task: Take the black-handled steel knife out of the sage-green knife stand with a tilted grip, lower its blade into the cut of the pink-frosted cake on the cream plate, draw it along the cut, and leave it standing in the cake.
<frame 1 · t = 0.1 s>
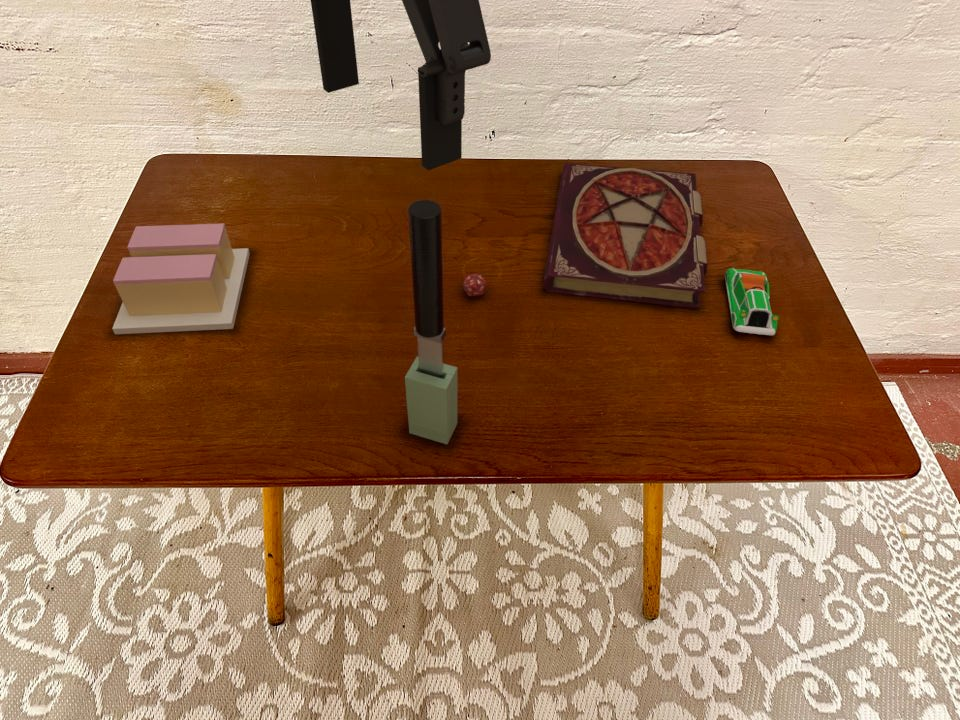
hand: (387, 122, 49), 35 cm above the table, tool pointing down, fingers open, 13 cm apart
knife: (433, 416, 72), point 2 cm above the table, touching knife stand
knife stand: (433, 428, 74), on the table
cake: (186, 291, 88), on the table
book: (625, 238, 99), on the table
toy car: (745, 309, 89), on the table
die: (474, 294, 90), on the table
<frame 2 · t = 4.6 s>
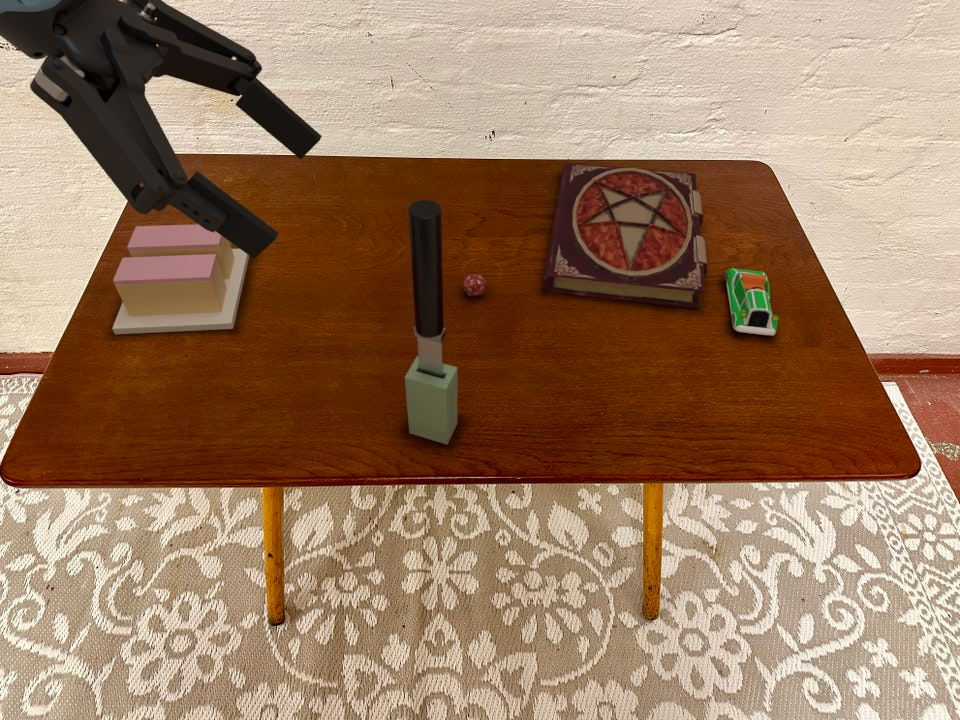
hand: (291, 193, 53), 29 cm above the table, tool tilted 45°, fingers open, 13 cm apart
nothing on the table moved.
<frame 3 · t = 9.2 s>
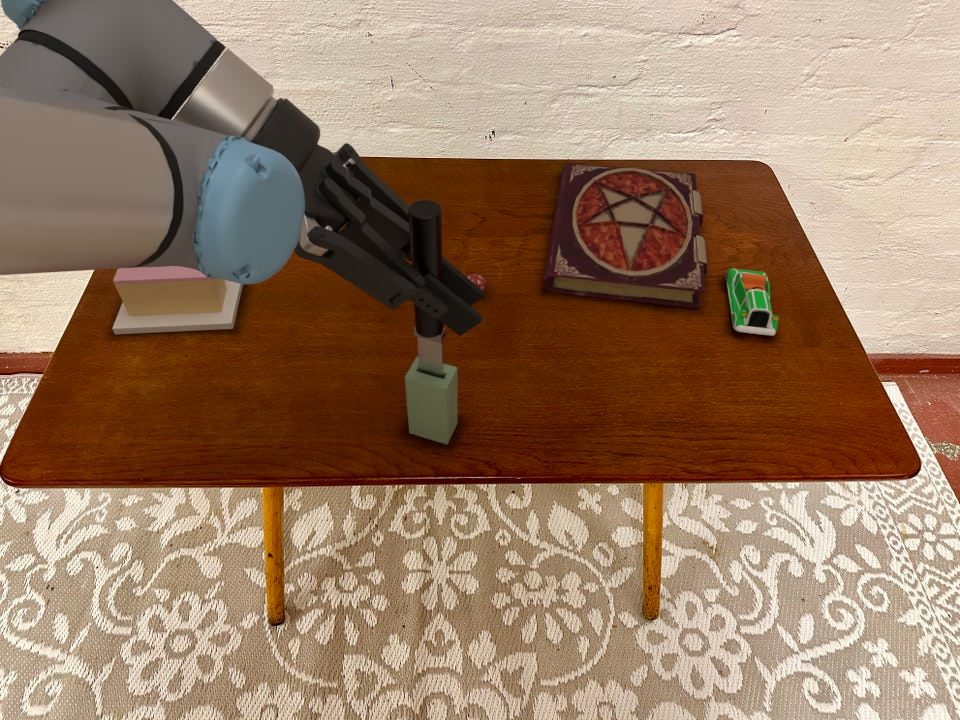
hand: (471, 313, 61), 17 cm above the table, tool tilted 45°, fingers closed on knife, 3 cm apart
knife: (433, 416, 72), point 2 cm above the table, touching gripper, knife stand
everything else where it was.
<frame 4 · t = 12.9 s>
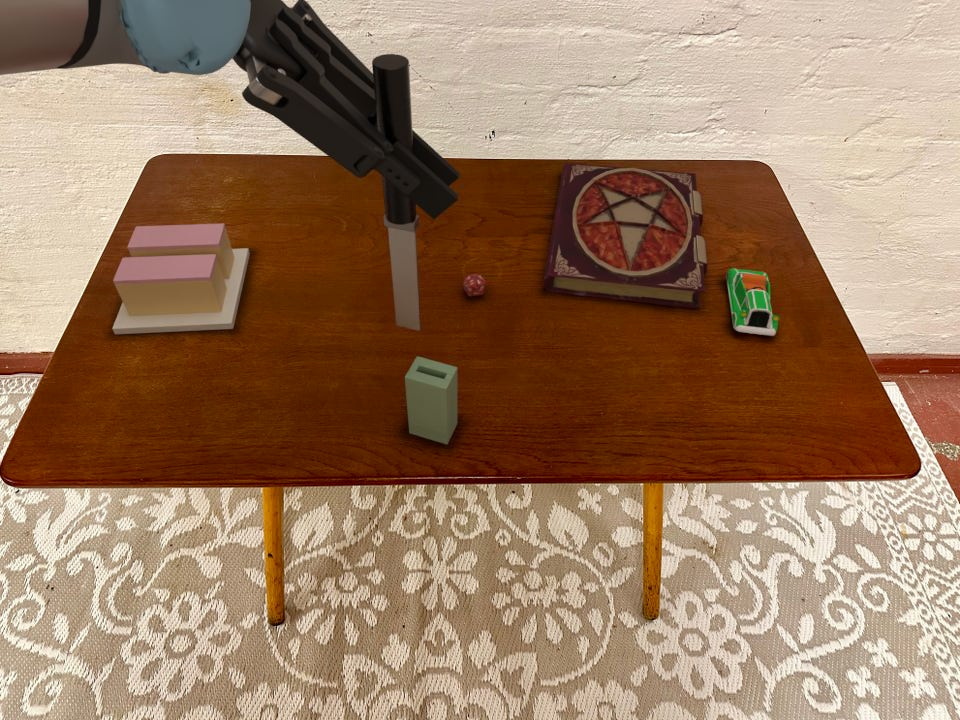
hand: (446, 195, 56), 27 cm above the table, tool tilted 45°, fingers closed on knife, 3 cm apart
knife: (408, 327, 67), point 12 cm above the table, touching gripper
everything else where it was.
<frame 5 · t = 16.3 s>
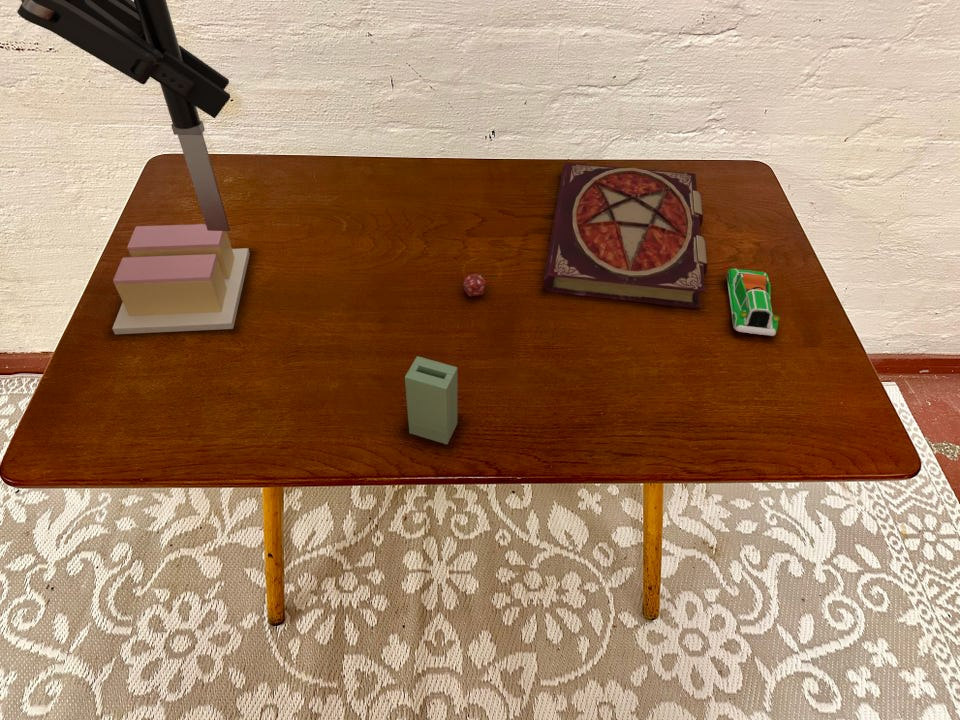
hand: (221, 98, 68), 27 cm above the table, tool tilted 45°, fingers closed on knife, 3 cm apart
knife: (218, 230, 78), point 12 cm above the table, touching gripper
everything else where it was.
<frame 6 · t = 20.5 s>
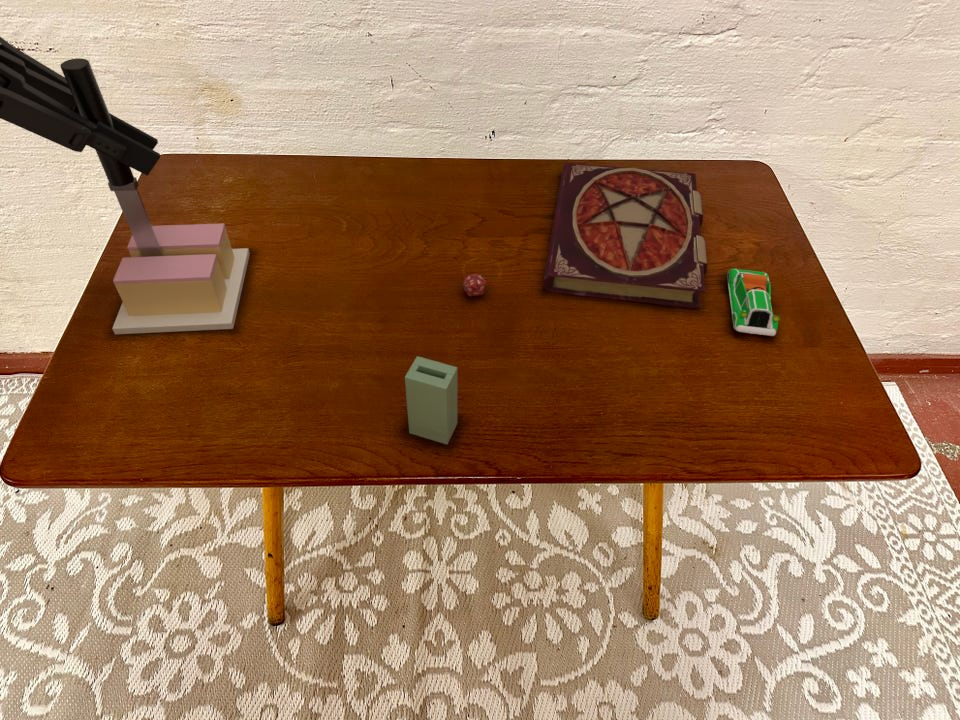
hand: (152, 157, 76), 19 cm above the table, tool tilted 45°, fingers closed on knife, 3 cm apart
knife: (158, 271, 86), point 3 cm above the table, touching gripper
everything else where it was.
when the fingers open (16 cm above the table, at t = 23.6 s): knife stays where it is, resting on cake.
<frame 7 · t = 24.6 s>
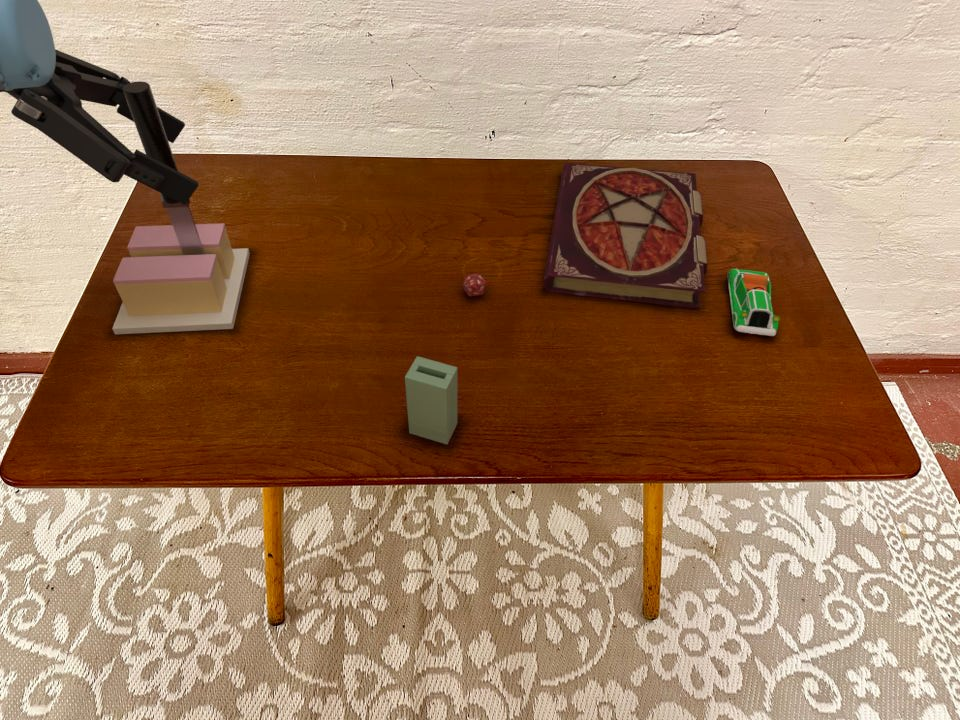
hand: (185, 161, 76), 18 cm above the table, tool tilted 45°, fingers open, 13 cm apart
knife: (204, 284, 88), point 1 cm above the table, touching cake
everything else where it was.
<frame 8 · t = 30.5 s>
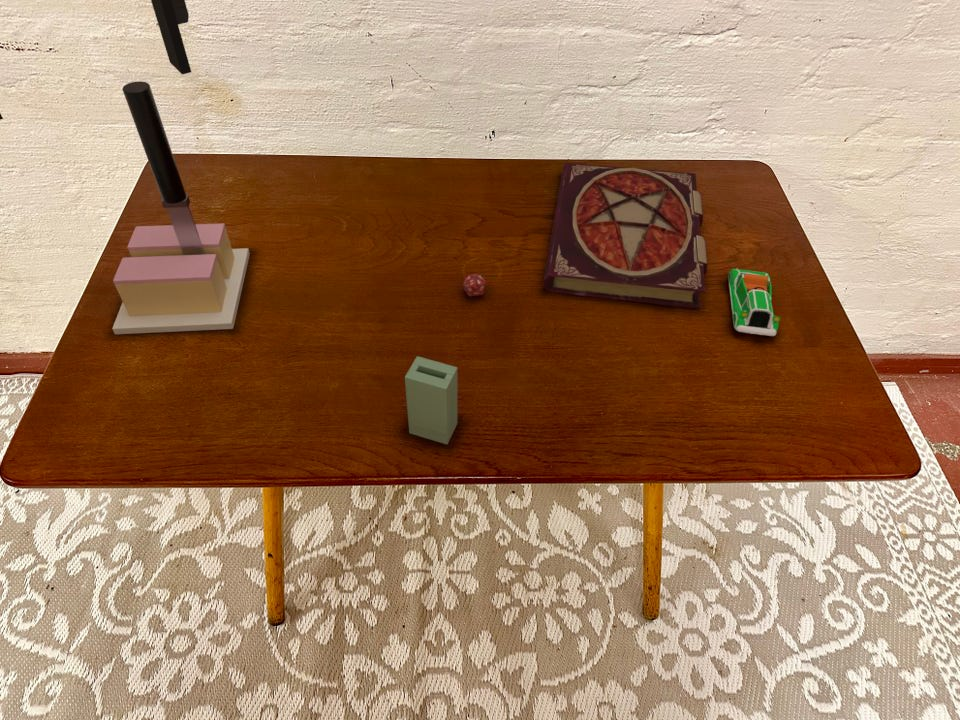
hand: (92, 89, 52), 35 cm above the table, tool pointing down, fingers open, 13 cm apart
nothing on the table moved.
at the end: knife inside the target area on the cake (2.6 cm from its centre), point 1.0 cm above the cake's base; knife tilted 0°; the gripper is holding nothing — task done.
